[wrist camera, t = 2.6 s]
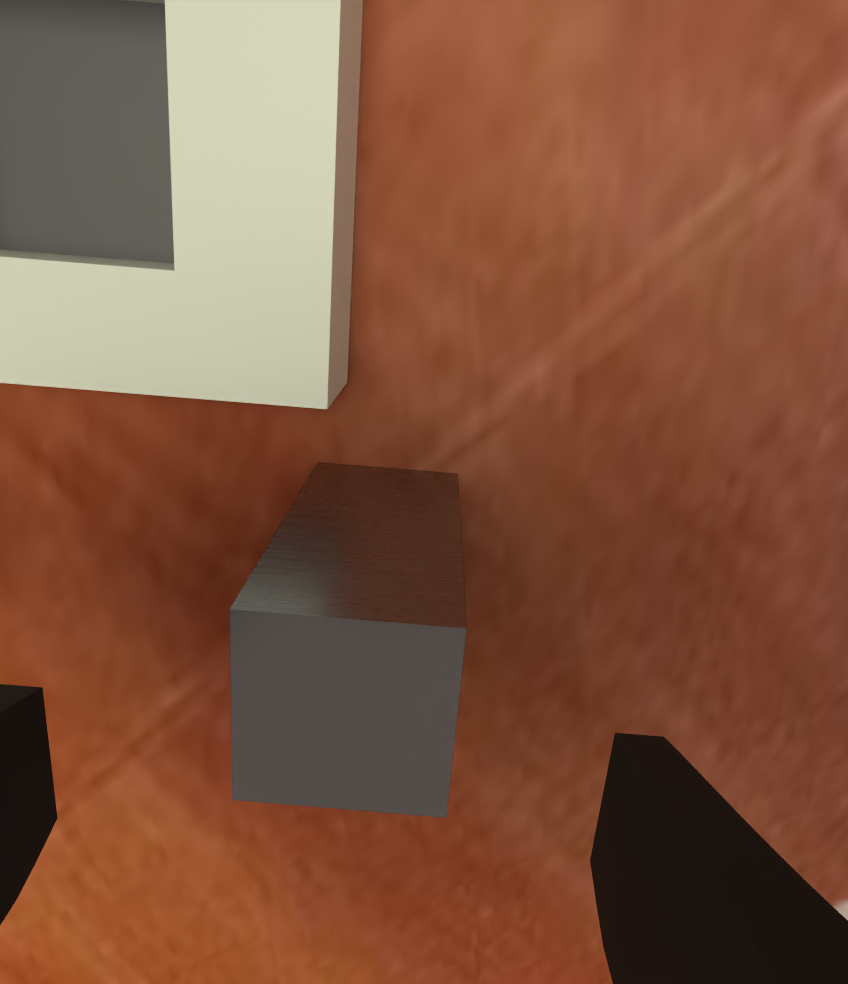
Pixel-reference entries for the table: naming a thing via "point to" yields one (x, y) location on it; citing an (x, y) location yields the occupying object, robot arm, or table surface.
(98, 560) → the table surface
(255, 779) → the square bit
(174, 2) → the bore block
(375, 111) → the table surface
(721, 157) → the table surface
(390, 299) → the table surface
